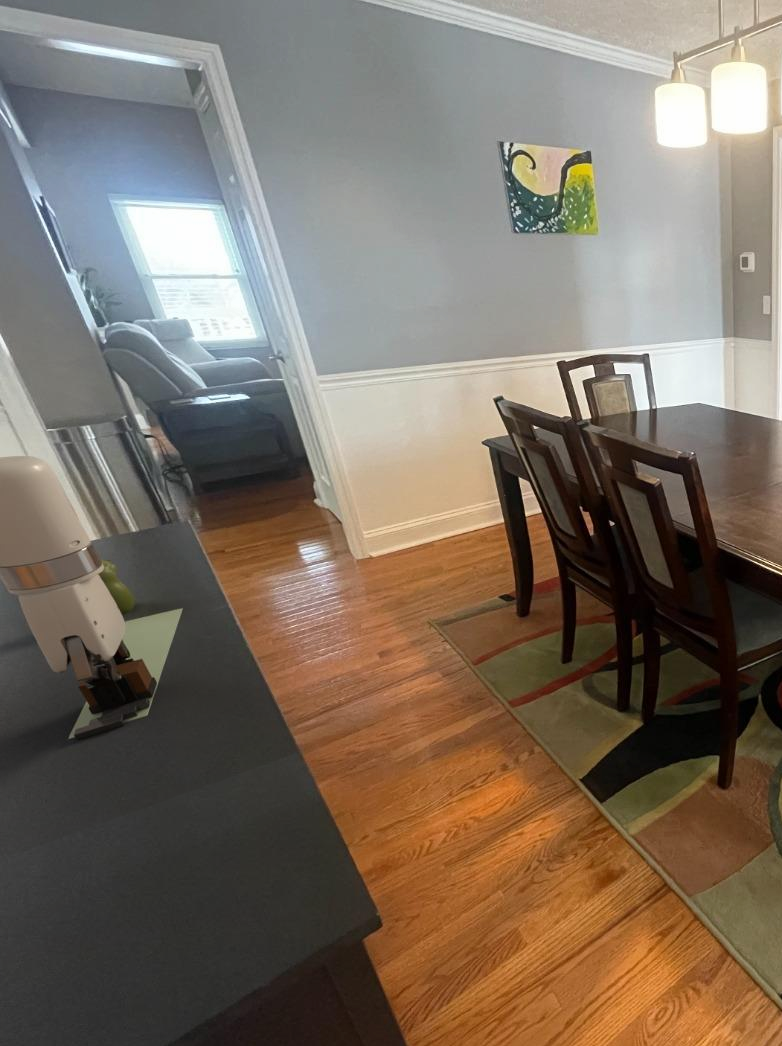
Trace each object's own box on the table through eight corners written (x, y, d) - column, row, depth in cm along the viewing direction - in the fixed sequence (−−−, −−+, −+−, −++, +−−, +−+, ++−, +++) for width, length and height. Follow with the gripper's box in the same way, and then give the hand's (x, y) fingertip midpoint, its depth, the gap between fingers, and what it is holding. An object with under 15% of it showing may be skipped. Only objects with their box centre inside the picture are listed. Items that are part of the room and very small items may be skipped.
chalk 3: (104, 721, 71) (100, 716, 70) (105, 716, 72) (102, 711, 71) (149, 707, 73) (146, 702, 73) (150, 702, 74) (147, 697, 74)
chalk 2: (91, 730, 69) (88, 725, 69) (93, 725, 70) (89, 719, 70) (137, 715, 72) (134, 710, 71) (139, 710, 72) (136, 705, 72)
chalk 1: (76, 740, 68) (73, 735, 68) (78, 734, 69) (75, 729, 68) (124, 725, 70) (121, 720, 70) (125, 719, 71) (122, 714, 71)
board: (71, 745, 69) (67, 738, 68) (128, 626, 92) (125, 621, 92) (150, 721, 72) (147, 715, 72) (185, 613, 96) (182, 607, 96)
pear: (86, 629, 92) (54, 572, 88) (101, 614, 96) (71, 558, 92) (134, 620, 94) (104, 563, 90) (146, 605, 98) (118, 551, 94)
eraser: (91, 714, 72) (75, 688, 70) (98, 699, 74) (83, 673, 73) (152, 697, 75) (138, 671, 73) (157, 683, 77) (143, 657, 76)
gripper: (27, 551, 71) (99, 676, 79) (-27, 607, 59) (65, 749, 66) (113, 536, 75) (174, 656, 83) (79, 585, 63) (155, 721, 70)
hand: (125, 696), depth 74 cm, fingers closed on eraser, 3 cm apart
